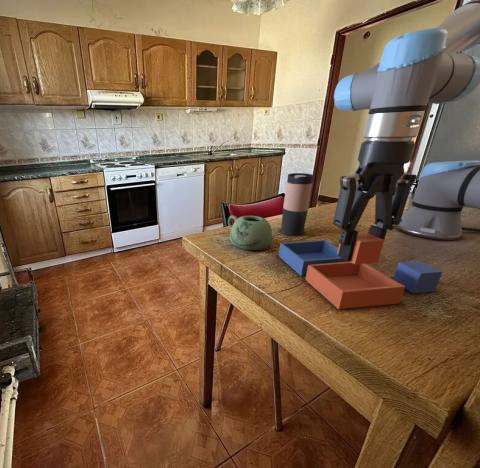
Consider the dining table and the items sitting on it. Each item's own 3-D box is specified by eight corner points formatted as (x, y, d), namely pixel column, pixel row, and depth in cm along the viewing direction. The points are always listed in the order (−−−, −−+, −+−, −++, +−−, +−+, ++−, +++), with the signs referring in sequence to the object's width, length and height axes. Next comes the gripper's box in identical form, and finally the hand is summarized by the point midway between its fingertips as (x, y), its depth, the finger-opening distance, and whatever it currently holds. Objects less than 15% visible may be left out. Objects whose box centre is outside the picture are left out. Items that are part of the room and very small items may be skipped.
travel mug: (299, 228, 94) (308, 172, 86) (307, 236, 86) (318, 176, 79) (277, 228, 94) (284, 173, 87) (283, 236, 87) (292, 176, 80)
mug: (280, 245, 81) (283, 218, 77) (253, 256, 74) (256, 228, 71) (239, 231, 93) (241, 208, 90) (214, 240, 86) (215, 215, 83)
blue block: (412, 279, 60) (418, 260, 58) (434, 291, 55) (442, 271, 54) (392, 281, 60) (398, 262, 58) (413, 293, 55) (421, 273, 53)
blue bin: (321, 252, 75) (324, 239, 73) (351, 271, 64) (354, 257, 63) (278, 256, 74) (280, 243, 72) (301, 276, 63) (303, 261, 62)
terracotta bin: (356, 275, 63) (360, 260, 61) (399, 303, 52) (405, 286, 51) (305, 279, 62) (308, 264, 60) (338, 309, 51) (342, 292, 50)
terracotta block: (358, 252, 56) (363, 231, 55) (377, 262, 52) (384, 240, 50) (337, 253, 56) (341, 232, 54) (354, 264, 51) (360, 241, 50)
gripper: (357, 142, 41) (328, 269, 50) (458, 138, 43) (413, 262, 51) (325, 141, 48) (305, 252, 57) (413, 137, 50) (381, 247, 58)
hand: (356, 257), depth 54 cm, fingers closed on terracotta block, 5 cm apart
